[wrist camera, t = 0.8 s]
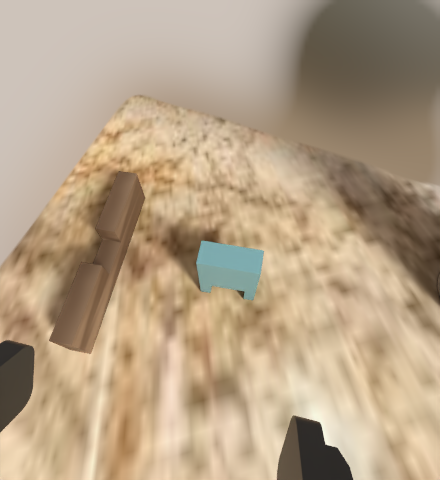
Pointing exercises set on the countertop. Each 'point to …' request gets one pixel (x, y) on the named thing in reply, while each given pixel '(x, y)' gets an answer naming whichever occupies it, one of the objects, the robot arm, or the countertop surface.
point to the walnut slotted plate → (100, 267)
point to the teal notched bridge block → (229, 267)
